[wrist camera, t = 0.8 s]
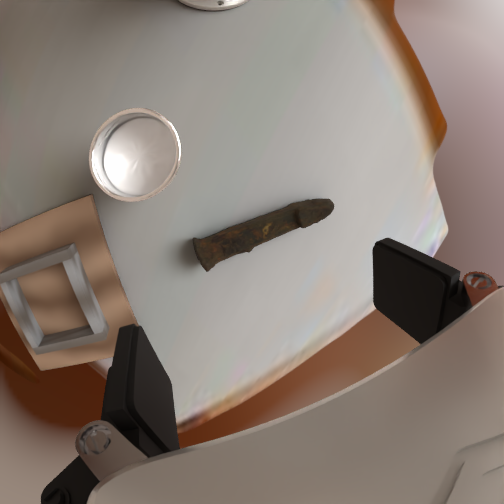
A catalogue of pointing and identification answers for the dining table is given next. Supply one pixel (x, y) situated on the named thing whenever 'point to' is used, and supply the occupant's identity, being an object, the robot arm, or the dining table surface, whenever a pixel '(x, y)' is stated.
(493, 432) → the robot arm
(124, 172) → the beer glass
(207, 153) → the dining table surface
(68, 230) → the glass dock
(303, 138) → the dining table surface
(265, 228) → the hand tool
